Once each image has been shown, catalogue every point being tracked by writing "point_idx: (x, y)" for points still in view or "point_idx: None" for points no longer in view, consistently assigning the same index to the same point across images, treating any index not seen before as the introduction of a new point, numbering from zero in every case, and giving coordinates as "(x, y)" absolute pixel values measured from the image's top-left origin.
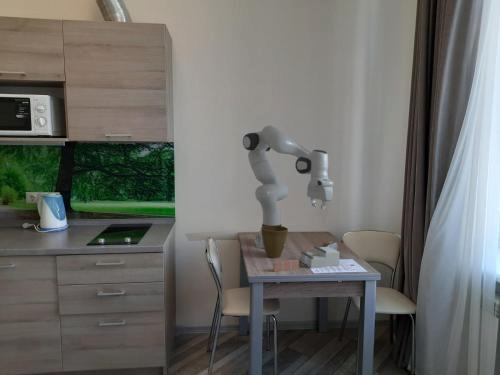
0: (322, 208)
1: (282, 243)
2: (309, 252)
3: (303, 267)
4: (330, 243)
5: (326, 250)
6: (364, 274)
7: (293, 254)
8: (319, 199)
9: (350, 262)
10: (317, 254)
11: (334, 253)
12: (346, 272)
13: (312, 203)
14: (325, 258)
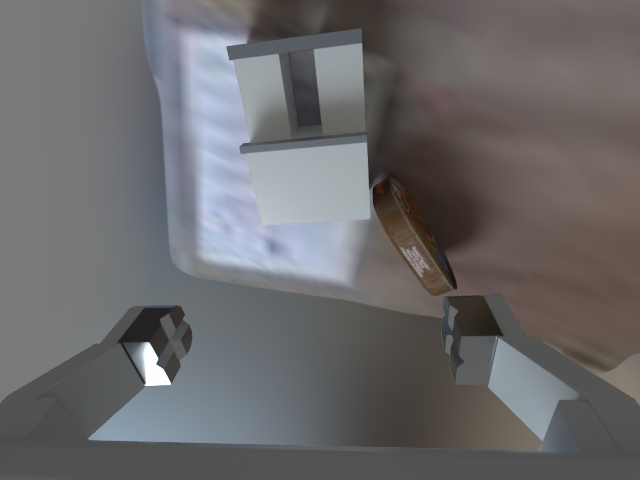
0: (130, 310)
1: None
2: (358, 89)
3: (265, 3)
4: (396, 247)
5: (298, 176)
6: (171, 235)
7: (510, 33)
8: (56, 442)
9: (305, 256)
10: (322, 126)
11: (257, 197)
12: (190, 185)
13: (498, 328)
14: (251, 139)
